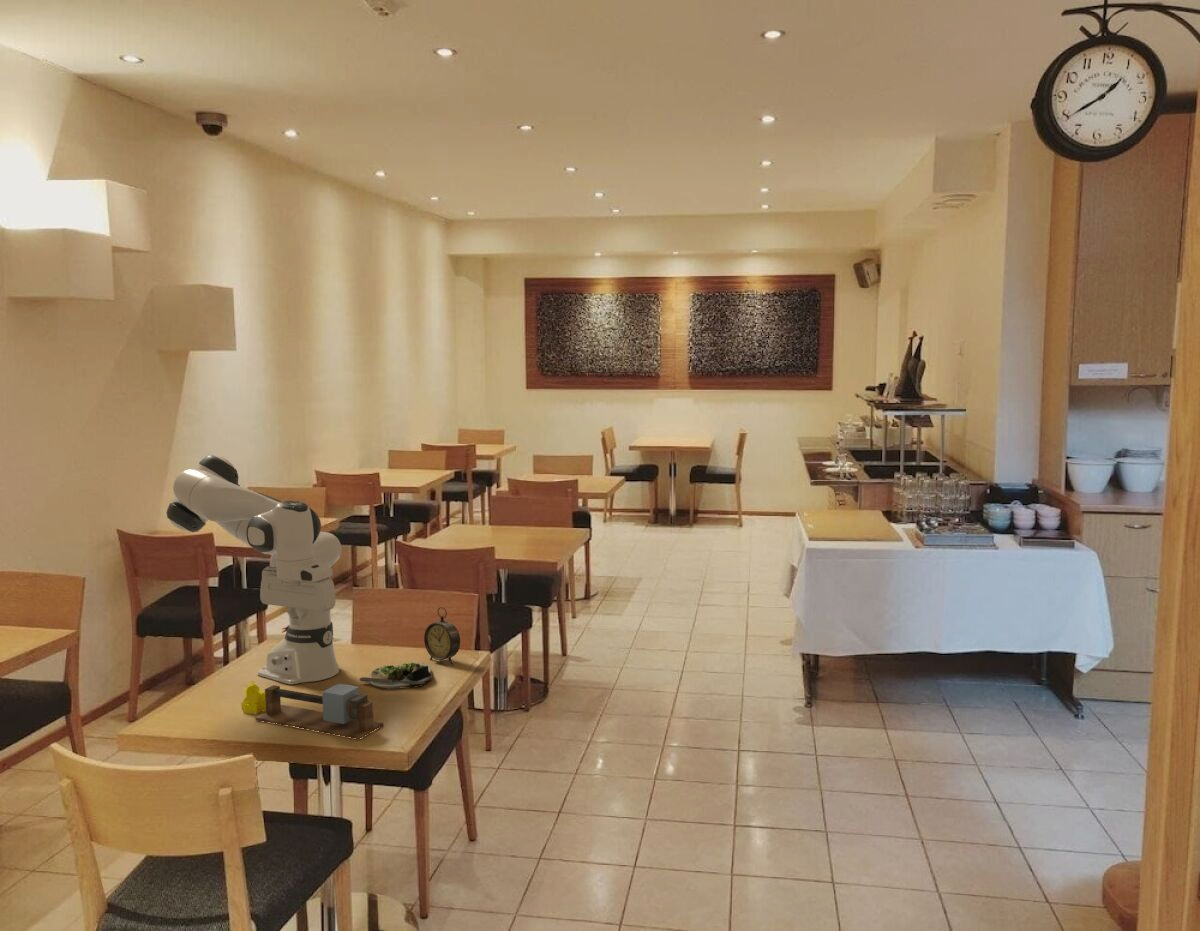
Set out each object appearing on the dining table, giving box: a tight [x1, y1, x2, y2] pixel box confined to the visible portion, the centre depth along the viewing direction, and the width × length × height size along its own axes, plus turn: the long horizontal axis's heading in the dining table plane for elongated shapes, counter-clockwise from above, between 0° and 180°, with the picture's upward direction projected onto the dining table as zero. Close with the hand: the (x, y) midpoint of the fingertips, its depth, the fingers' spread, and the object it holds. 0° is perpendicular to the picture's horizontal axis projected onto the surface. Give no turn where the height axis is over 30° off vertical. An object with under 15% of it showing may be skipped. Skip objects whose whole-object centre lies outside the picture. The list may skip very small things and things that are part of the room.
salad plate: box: [359, 662, 433, 690], centre depth 256 cm, size 19×18×5 cm
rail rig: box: [255, 684, 384, 740], centre depth 226 cm, size 31×9×8 cm, turn 67°
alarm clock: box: [423, 606, 461, 665], centre depth 270 cm, size 11×5×16 cm, turn 55°
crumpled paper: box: [240, 679, 266, 714], centre depth 236 cm, size 6×8×8 cm
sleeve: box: [321, 683, 360, 724], centre depth 223 cm, size 6×6×7 cm
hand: (298, 625), depth 226 cm, fingers closed
